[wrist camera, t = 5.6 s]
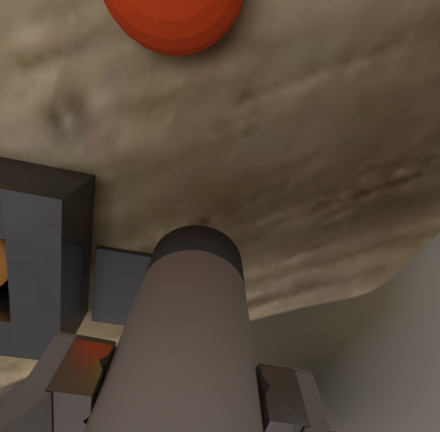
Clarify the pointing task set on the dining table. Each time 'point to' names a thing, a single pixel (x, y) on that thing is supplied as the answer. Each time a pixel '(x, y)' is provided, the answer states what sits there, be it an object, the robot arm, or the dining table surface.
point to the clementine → (175, 22)
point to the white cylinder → (184, 345)
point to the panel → (43, 254)
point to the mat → (116, 283)
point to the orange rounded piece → (3, 262)
